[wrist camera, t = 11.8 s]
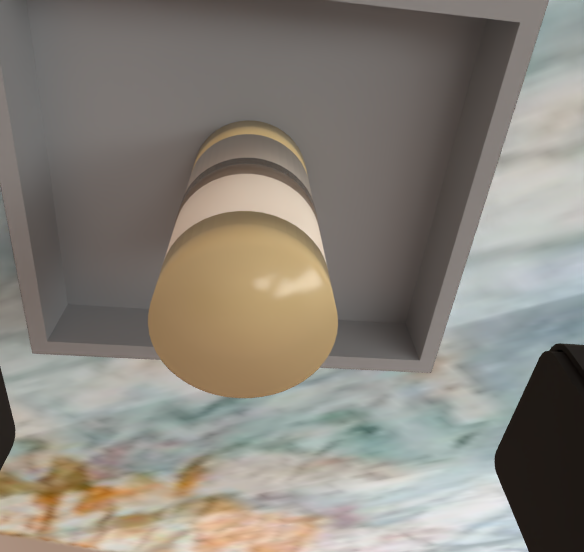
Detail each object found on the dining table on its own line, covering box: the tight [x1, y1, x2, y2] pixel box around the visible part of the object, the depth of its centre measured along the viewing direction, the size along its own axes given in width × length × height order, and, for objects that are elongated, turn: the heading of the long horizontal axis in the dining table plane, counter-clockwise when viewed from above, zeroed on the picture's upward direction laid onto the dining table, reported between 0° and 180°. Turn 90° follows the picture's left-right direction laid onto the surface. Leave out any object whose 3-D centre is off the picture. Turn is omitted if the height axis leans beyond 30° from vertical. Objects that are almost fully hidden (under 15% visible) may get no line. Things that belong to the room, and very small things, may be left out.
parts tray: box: [0, 0, 549, 373], centre depth 18 cm, size 15×13×3 cm
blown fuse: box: [148, 120, 338, 398], centre depth 15 cm, size 4×4×9 cm
